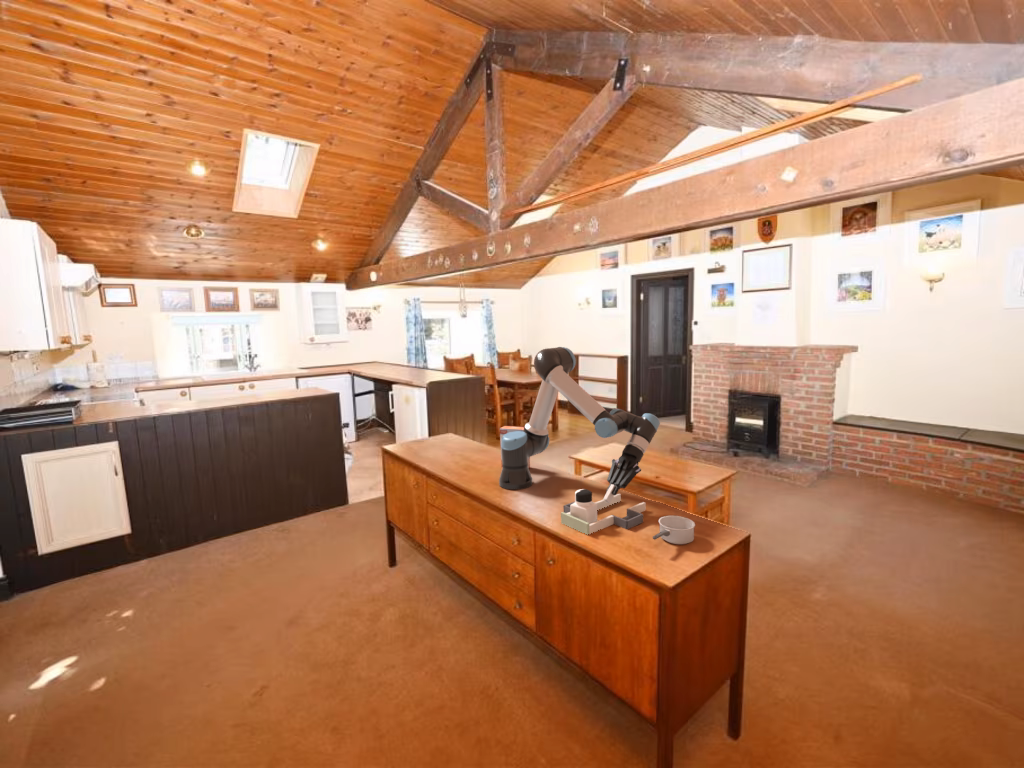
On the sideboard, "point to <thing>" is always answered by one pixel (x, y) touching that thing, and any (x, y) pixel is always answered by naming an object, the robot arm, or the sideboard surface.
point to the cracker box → (506, 430)
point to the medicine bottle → (584, 506)
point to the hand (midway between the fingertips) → (606, 501)
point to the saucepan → (676, 529)
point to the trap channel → (626, 522)
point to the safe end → (575, 523)
